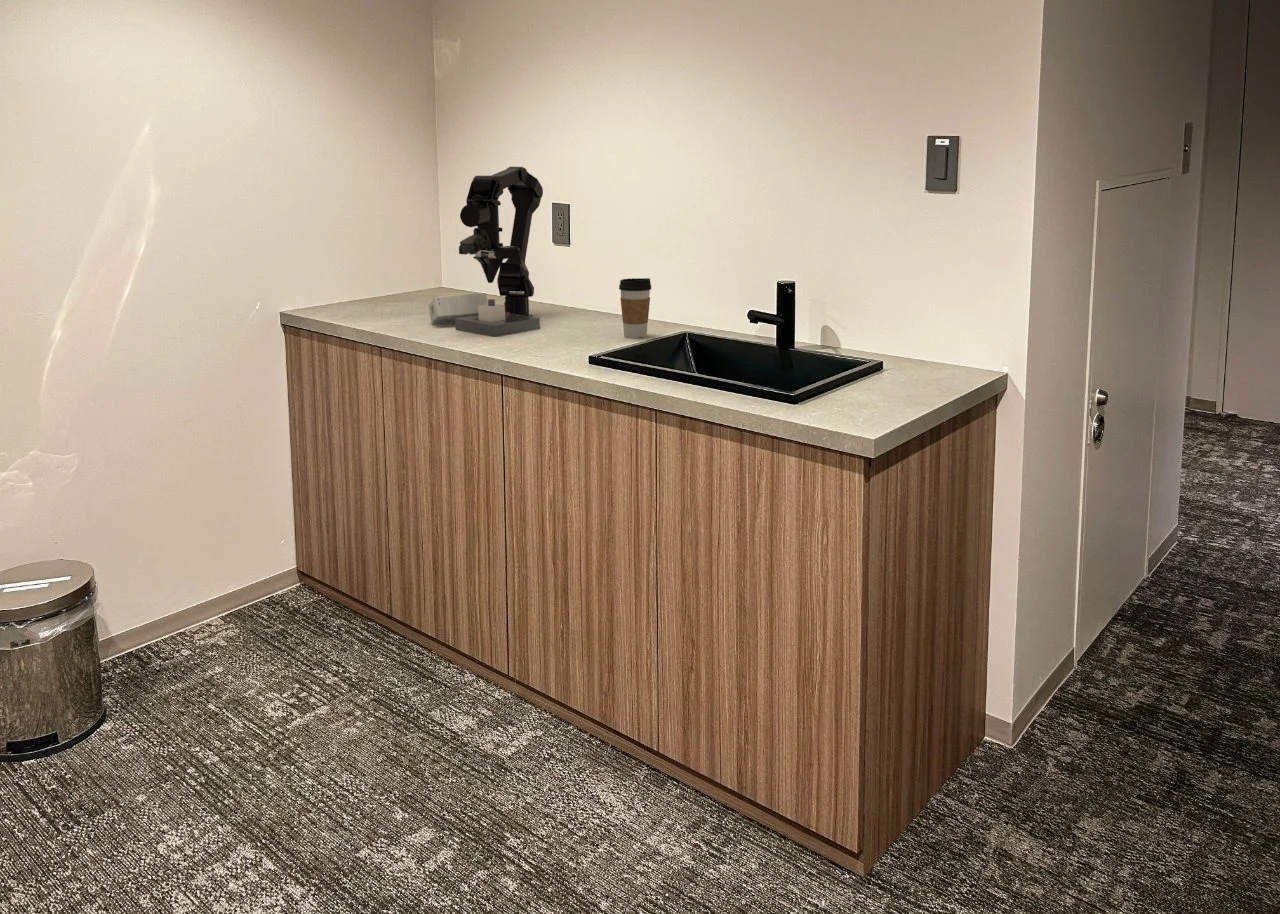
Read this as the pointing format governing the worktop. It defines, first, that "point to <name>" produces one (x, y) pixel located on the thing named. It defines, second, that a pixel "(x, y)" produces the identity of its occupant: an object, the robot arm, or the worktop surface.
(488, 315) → the plug
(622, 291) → the coffee cup
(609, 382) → the worktop surface
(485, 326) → the socket plate
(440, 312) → the skincare box
